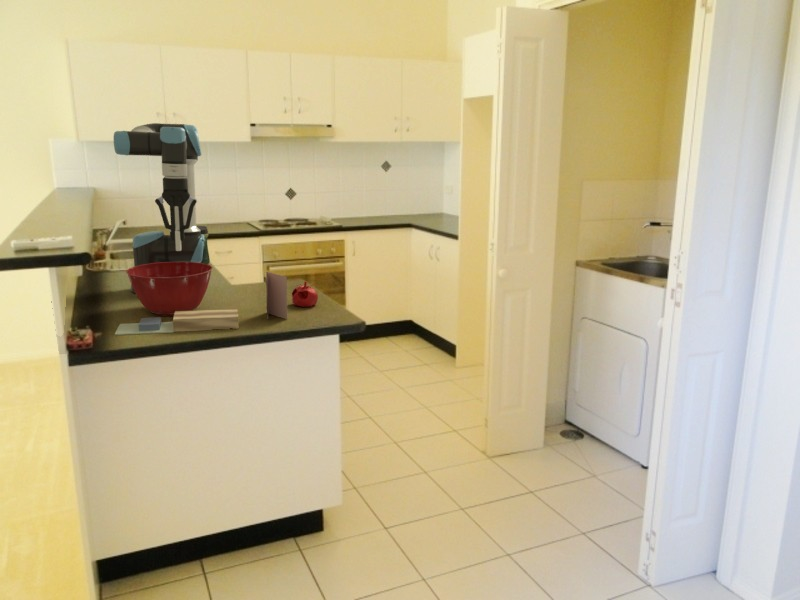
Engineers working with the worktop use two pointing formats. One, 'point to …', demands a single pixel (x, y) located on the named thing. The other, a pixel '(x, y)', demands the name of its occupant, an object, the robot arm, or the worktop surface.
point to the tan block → (205, 320)
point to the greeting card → (276, 295)
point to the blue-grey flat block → (150, 324)
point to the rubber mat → (134, 329)
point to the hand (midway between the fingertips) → (178, 250)
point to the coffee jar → (205, 245)
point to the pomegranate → (304, 296)
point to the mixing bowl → (170, 285)
